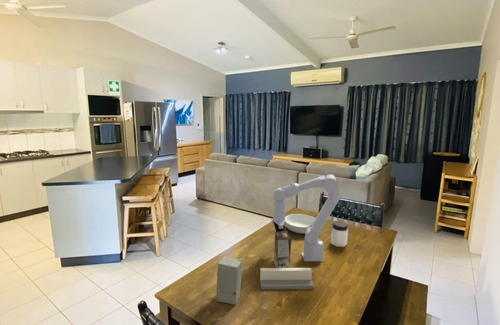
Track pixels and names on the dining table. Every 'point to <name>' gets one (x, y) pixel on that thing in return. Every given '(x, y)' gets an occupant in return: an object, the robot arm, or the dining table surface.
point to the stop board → (286, 278)
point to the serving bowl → (298, 222)
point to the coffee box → (282, 249)
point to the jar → (339, 233)
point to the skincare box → (229, 280)
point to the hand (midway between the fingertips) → (278, 235)
